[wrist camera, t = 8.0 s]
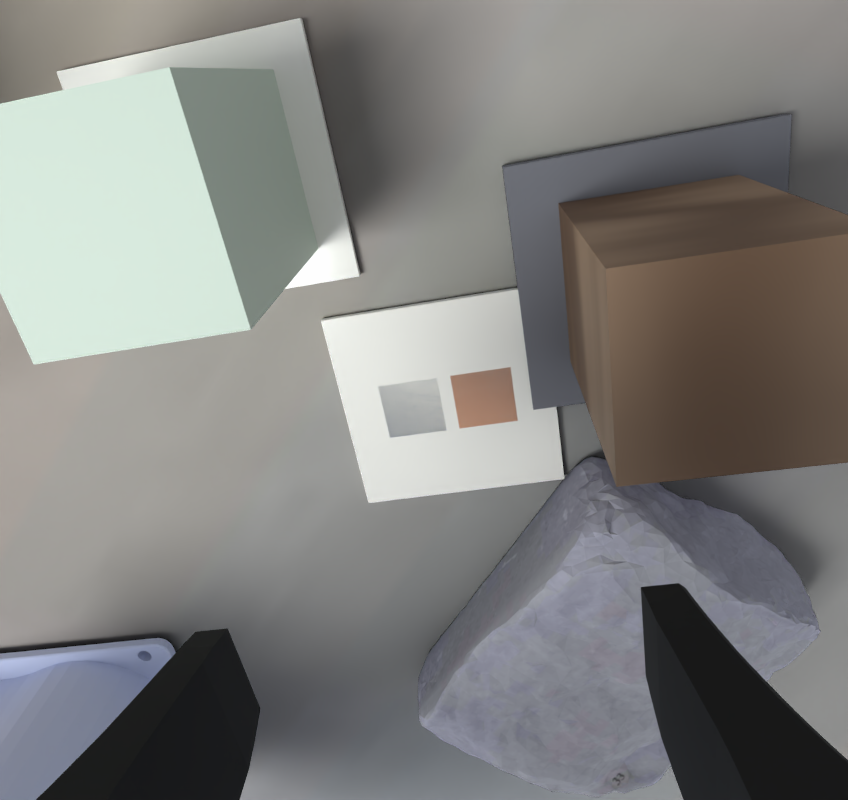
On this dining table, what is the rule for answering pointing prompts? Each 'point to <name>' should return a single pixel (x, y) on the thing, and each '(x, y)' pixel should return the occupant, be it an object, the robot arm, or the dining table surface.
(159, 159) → the sage block
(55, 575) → the dining table surface
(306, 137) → the tile
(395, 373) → the cream tile
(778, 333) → the walnut block
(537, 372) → the charcoal mat
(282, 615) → the dining table surface
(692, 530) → the stone block
